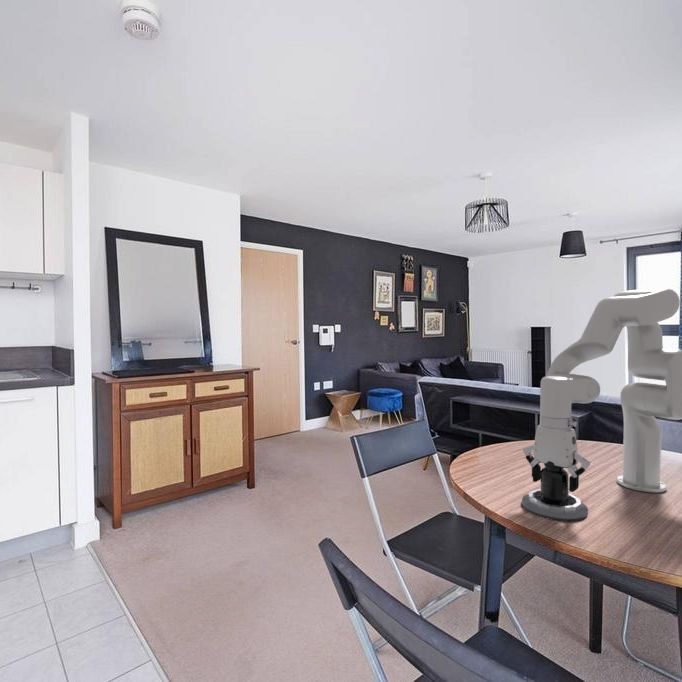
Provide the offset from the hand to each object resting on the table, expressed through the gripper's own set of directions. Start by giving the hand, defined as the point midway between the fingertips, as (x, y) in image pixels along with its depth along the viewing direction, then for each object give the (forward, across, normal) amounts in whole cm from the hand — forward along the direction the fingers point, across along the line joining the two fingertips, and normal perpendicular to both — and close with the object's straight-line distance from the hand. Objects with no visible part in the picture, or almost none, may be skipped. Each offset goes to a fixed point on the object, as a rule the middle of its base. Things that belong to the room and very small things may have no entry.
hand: (554, 485), depth 118 cm
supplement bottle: (+5, 0, 0) cm, 5 cm away
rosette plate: (+6, 0, 0) cm, 6 cm away
